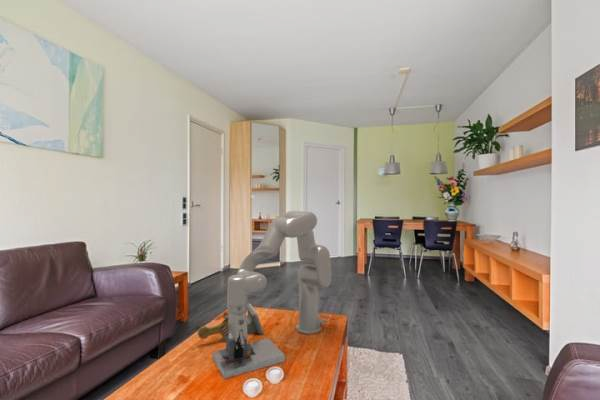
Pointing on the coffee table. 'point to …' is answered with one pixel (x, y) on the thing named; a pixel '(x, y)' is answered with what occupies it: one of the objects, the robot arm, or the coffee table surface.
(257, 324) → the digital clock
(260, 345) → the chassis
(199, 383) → the coffee table surface
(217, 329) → the toy helicopter
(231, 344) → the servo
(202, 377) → the coffee table surface
